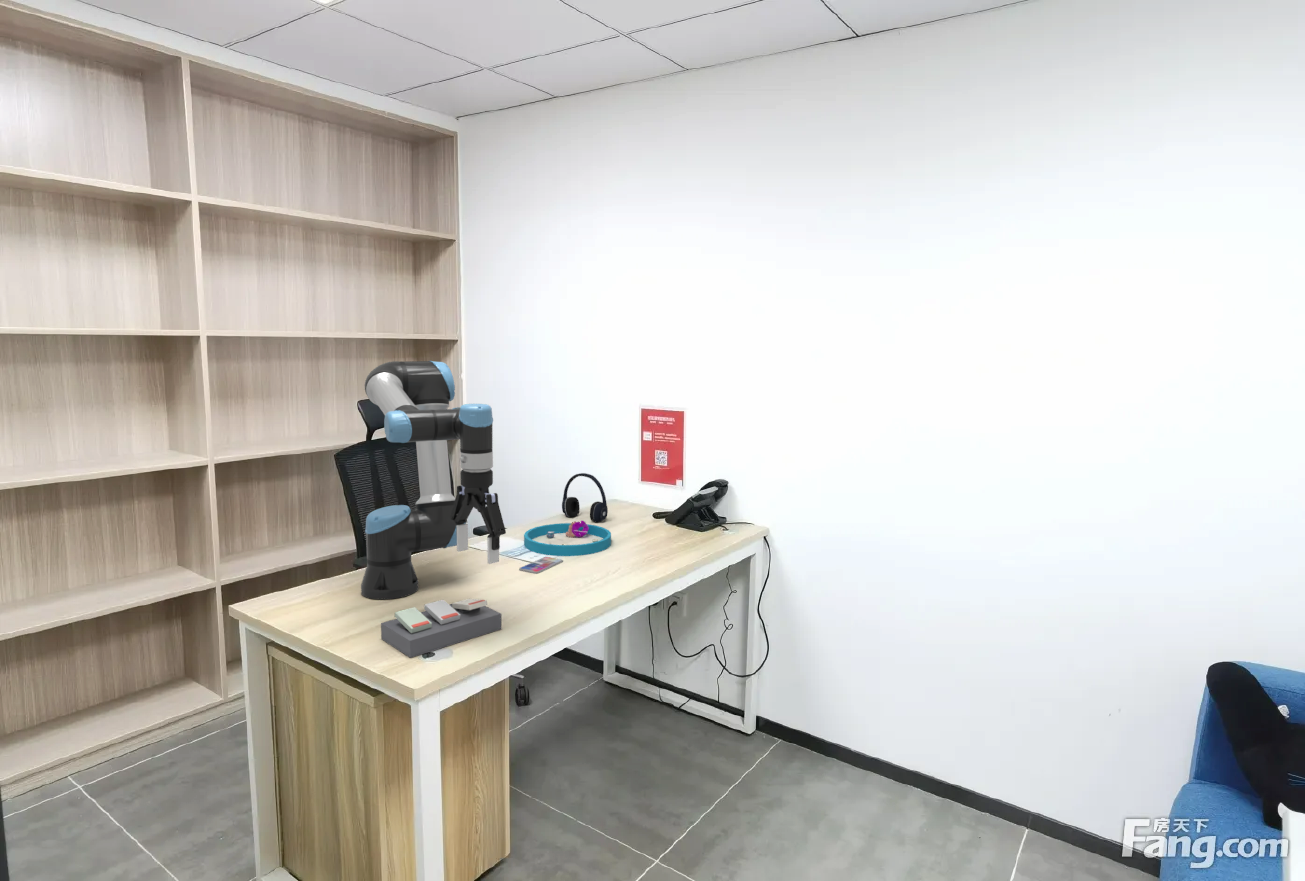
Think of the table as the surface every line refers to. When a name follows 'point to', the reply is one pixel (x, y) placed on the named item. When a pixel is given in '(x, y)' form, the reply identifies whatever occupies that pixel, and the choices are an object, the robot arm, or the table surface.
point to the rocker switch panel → (441, 631)
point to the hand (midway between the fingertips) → (477, 556)
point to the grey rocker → (442, 611)
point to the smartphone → (540, 565)
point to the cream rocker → (469, 604)
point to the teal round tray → (571, 531)
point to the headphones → (572, 504)
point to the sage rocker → (413, 620)
